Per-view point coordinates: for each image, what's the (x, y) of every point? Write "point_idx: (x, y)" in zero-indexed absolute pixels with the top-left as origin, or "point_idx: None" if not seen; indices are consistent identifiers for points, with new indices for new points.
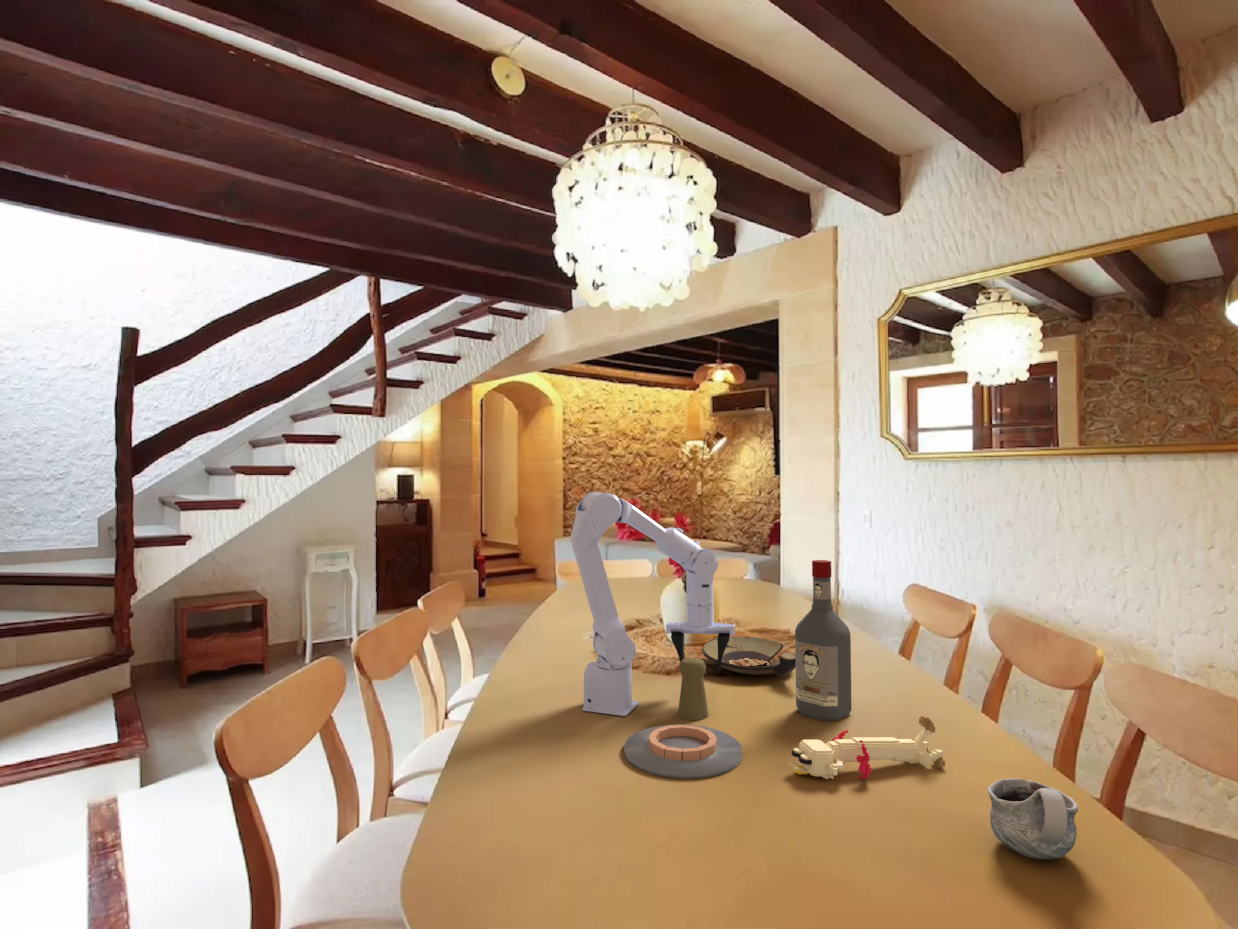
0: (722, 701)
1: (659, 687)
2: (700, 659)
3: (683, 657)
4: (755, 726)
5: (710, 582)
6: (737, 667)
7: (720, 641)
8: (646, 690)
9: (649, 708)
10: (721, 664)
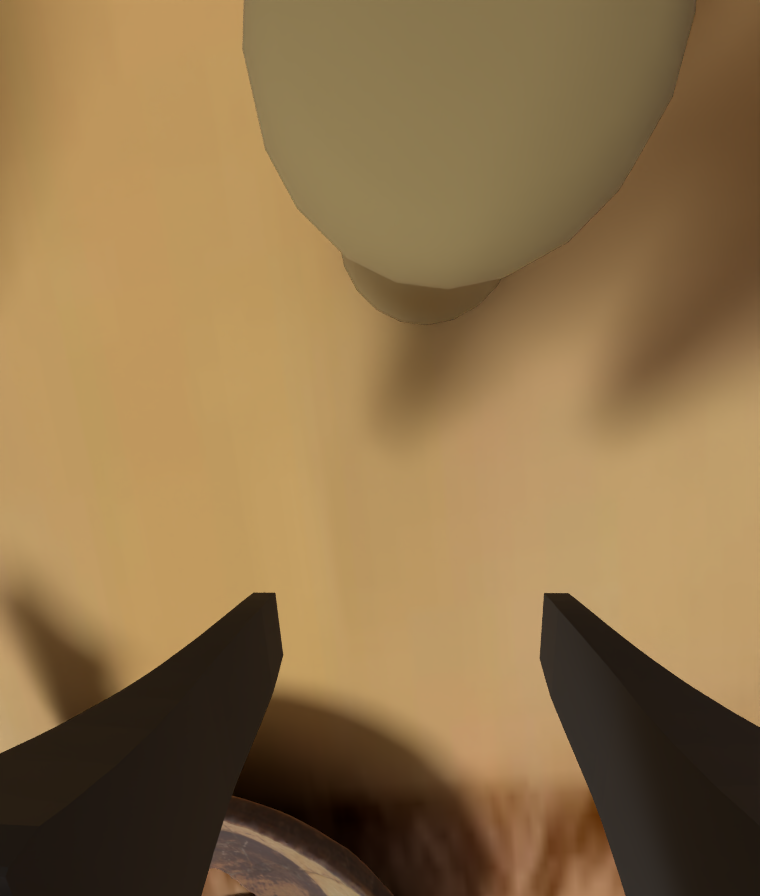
0: (294, 476)
1: (640, 627)
2: (308, 41)
3: (583, 661)
4: (64, 117)
5: None
6: (234, 806)
7: (20, 803)
8: (714, 575)
9: (697, 284)
10: (324, 840)
